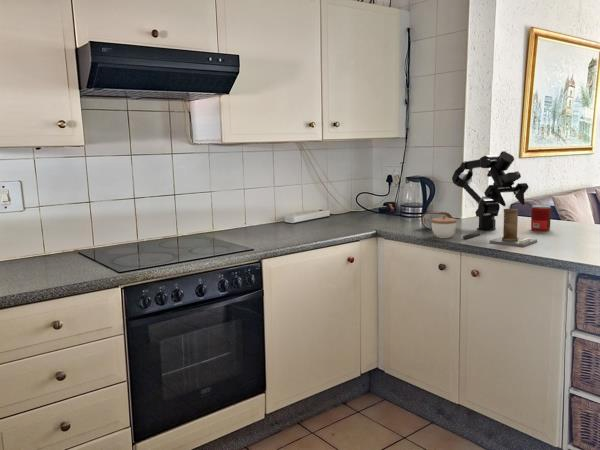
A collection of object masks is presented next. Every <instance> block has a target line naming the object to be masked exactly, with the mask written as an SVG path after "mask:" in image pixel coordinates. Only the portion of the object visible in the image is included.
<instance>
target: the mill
mask: <svg viewBox="0 0 600 450" xmlns="http://www.w3.org/2000/svg"><path fill="white" fill-rule="evenodd" d="M518 213H519V209H518V208H504V209H503V229H502V230H503V233H502V234H503V237H502V236H501V237H502V240H503V241H510V242H513V241H518V238H519V237H518V223H519V221H518V216H519V214H518Z"/></svg>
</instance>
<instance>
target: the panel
mask: <svg viewBox="0 0 600 450" xmlns="http://www.w3.org/2000/svg"><path fill="white" fill-rule="evenodd" d="M502 237H503V236H499V237H496V238H493V239H490V240H489V244H496V245H503V246H513V247H522V248H525V247H527V246H530V245H533V244H535V243H538V239H535V238H531V241H529V242H527V243H524V244H520V243H519V240H522V239H525V238H526V237H518V241H513V242H510V241H503V240H502Z"/></svg>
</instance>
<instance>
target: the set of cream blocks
mask: <svg viewBox="0 0 600 450" xmlns="http://www.w3.org/2000/svg"><path fill="white" fill-rule="evenodd" d="M524 238H525V239H522V240H519V243H520V244H524V243H527V242H529V241H531V239H532V238H531V237H524Z"/></svg>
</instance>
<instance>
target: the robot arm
mask: <svg viewBox="0 0 600 450" xmlns="http://www.w3.org/2000/svg"><path fill="white" fill-rule="evenodd" d="M514 161H515V157H514V155H512V154H511V153H510V152H509V153H508V152H507V151H505V150H502V151H501V152H500V154H499V155H496V154H494V155H493V154H492V155H491V154H490V155H483V156H482V157H480V158H478V159H473V160H469V161H467V160H466V161H462V162H461V164H460V165H459V167H458V168H457V169H455V170H454V173H453V174H452V178H451V180H452V183H453V185H455V186H457V187H460V188H461V189H464V190H465V191H466V192H467V193H468V194H469V196H470V197H472V199H473V200H474V201H475V202H476V203H477V209H476V211H475V216H476V217H478V227H476V229H477V230H481V231H494V230H496V229H497V227H496V219H495V217H498V215H499V213H500V208H501V206H502V207H506V202H505V200H504V198H503V196H502V193H504V194H505V193H513V195H515V196H514V197H515V199H516V200H517V201H519V203H520V204H521V205H522V206H524V205H525V193H526V192H527V190H528V189H529V185H528V183H526V182H520V183H518V182H517V184H516V186H514V184H515V182H516V181H519V179H521V177H522V176H521V173H520V172H519V170H518V171H514V172H507V173H506V172H505V171H507V170H509V168H510V167H511V165H512V164H513V162H514ZM479 168H482V169H489V170H488V171H487V172H488V173H487V174H486V175H487V176H486V177H489V178H490V177H491V179H492V180H493V184H489V185H488V186H487V188H486V189H485V191H484V192H483V191H482V190H481V189H480V188H479V187H478V186H477V185H476V184H475V183H474V182H473V175H474V174H473V171H474V170H473V169H479ZM465 170H466V171H467V170H468V171H467V172H465Z"/></svg>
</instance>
